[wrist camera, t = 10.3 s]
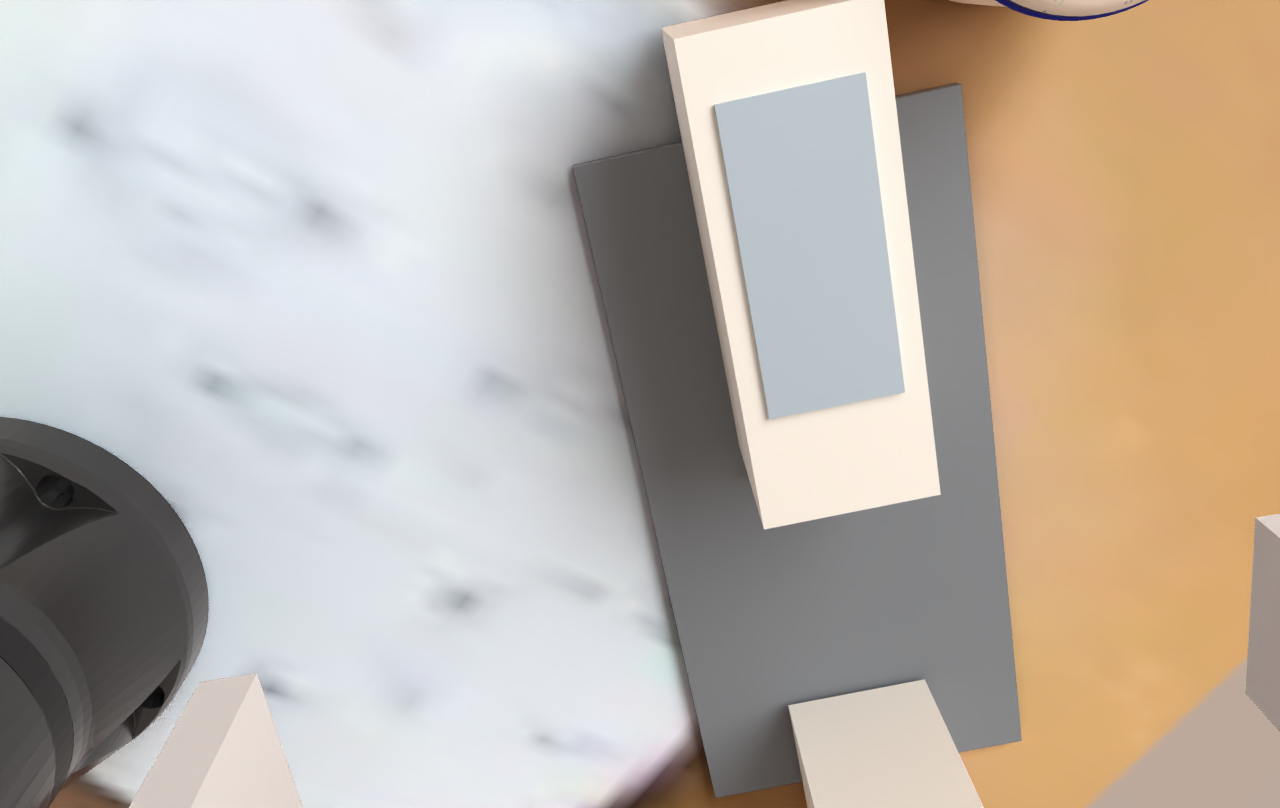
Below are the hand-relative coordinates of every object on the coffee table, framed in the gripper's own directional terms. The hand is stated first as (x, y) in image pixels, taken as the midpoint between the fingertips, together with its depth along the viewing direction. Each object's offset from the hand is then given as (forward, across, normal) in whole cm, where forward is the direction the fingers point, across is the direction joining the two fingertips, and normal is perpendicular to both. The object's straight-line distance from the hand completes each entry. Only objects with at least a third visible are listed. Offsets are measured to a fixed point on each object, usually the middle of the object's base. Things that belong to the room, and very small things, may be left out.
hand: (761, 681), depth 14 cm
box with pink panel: (+27, +6, -25) cm, 37 cm away
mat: (+28, +5, -11) cm, 31 cm away
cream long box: (+27, +4, -2) cm, 28 cm away
